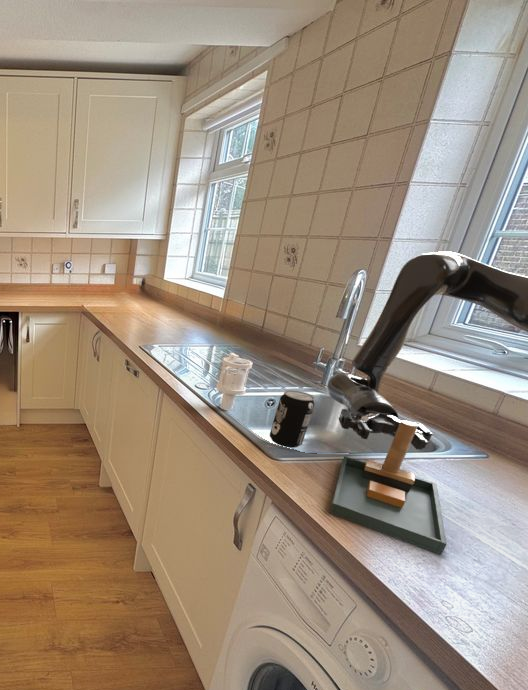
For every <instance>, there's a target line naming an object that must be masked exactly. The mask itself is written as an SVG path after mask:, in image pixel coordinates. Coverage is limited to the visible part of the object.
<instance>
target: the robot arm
mask: <svg viewBox="0 0 528 690" xmlns="http://www.w3.org/2000/svg"><path fill="white" fill-rule="evenodd" d="M434 296H446V297H450V298H453V299H458V300H462V301H465V302H468V303H472V304H475V305H477V306H480V307H482V308H484V309H486V310H487V311H490V312H491V313H493V314H494V315H496V316H497V317H498V318H500V319H502V320H503V321H505V322H506V323H508V324H509V325H511V326H513V327H515V328H516V329H518V330H521V331H523V332H526V333H528V276H525V275H521V274H516V273H513V272H508V271H505V270H501V269H500V268H497V267H493V266H491V265H488V264H487V263H483V262H480V261H478V260H475V259H472V258H471V257H468V256H466V255H463V254H460V253H457V252H452V251H438V252H437V251H436V252H428V253H422V254H419V255H416V256H414V257H412V258H411V259H409V260H408V261H407V262H405V264H404V265H402V267H401V268H400V271H399V273H398V275H397V277H396V279H395V281H394V284H393V285H392V288H391V291H390V293H389V296H388V298H387V300H386V302H385V305H384V306H383V309H382V311H381V313H380V314H379V317H378V319H377V320H376V323H375V324H374V326H373V328H372V329H371V331H370V333H369V335H368V336H367V337H366V339H365V340H364V342H363V344H362V345H361V347H360V348H359V350H358V351H357V352H356V353H355V356H354V357H353V358H352V361H351V364H352V367H353V368H354V369H356V370H357V371H358V372H360V373H363V375H366V376H367V377H362V376H358V375H355V374H350V373H347V372H339V373H336V374H333V376H331V377H330V378H329V380H328V381H327V385H326V390H327V394H328V395H329V397H330V398H332V399H333V400H334V401H336V402H337V403H339V404H340V405H343V406H344V407H345V408H342V409H341V410H340V413H339V416H338V422H339V424H340V426H341V428H342V429H344V430H349V429H352V431H353V432H355V433H356V435H358V436H359V437H360V438H361V439H363V440H368V438H369V435H370V434H383V435H389V436H391V437H393V438H394V437H395V434H396V432H397V430H398V427H399V425H400V422H401V421H403V420H402V419H400V417H399V414H398V412H397V410H396V408H394V407H393V405H392V404H391V403H390V402H389V401H388V400H387V399H386V398H385V397H384V396H383V395H380V394H379V393H380V389H381V386H382V382H383V380H384V376H385V374H386V372H387V370H388V368H389V367H390V366H391V365H392V363H393V362H394V361H395V359H396V358H397V356H398V355H399V353H400V352H401V350H402V349H403V347H404V344H405V342H406V340H407V337H408V333H409V331H410V327H411V325H412V323H413V321H414V320H415V318H416V316H417V315H418V314H419V312H420V311H421V309H422V308H424V306H425V305H426V304H427V303H428V302H429V301H430V300H431V299H433V297H434ZM413 423H416V424H417V425H418V427H417V430H416V432H415V434H414V436H413V439H412V441H411V443H410V445H411V446H413V448H414V449H416V450H419V451H422V450H423V449H425V448H426V446H427V445H429V443H430V440H431V438H432V436H433V434H434V433H433V432H432V431H431V430H430V429H429V428H428V427H426V426H425V425H424V424H423V423H421V422H420V421H414V422H413Z"/></svg>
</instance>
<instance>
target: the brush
mask: <svg viewBox="0 0 528 690" xmlns="http://www.w3.org/2000/svg"><path fill="white" fill-rule="evenodd" d="M417 427H418V425H417V424H416V423H414V422H413V421H410V420H402V421H401V422H400V425H399V427H398V430H397V432H396V434H395V437H393V439H392V442H391V444H390V446H389V449H388V451H387V454H386V456H385V459H384V461H383V463H380V462H377V461H373V460H370V459H366V460H365V462H366V463H365V467H364V470H363V474H362V478H365V479H368V480H371V481H375V482H378V483H381V484H384V485H387V486H390V487H394V488H397V489H400V490H403V491H406V492H409V490H410V488H411V486H412V485H413V484H414V482H415V477H416V475H415V473H414V472H411V471H408V470H405V469H401V467H402V464H403V462H404V459H405V457H406V455H407V452H408V450H409V448H410V446H411V441H412V439H413V436H414V434H415V432H416V430H417Z"/></svg>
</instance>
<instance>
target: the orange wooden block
mask: <svg viewBox="0 0 528 690" xmlns="http://www.w3.org/2000/svg"><path fill="white" fill-rule="evenodd" d="M366 496H368V497H371V498H373V499H376V500H379V501H382V502H385V503H388V504H391V505H394V506H397V507H400V508H402V507H403V505H404V503H405V492H404V491H401V490H398V489H395V488H392V487H389V486H386V485H382V484H379V483H376V482H373V481H370V482H369V484H368V487H367V495H366Z"/></svg>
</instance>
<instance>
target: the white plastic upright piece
mask: <svg viewBox="0 0 528 690" xmlns="http://www.w3.org/2000/svg"><path fill="white" fill-rule="evenodd" d="M221 364H222V367H221V371H220V374H219V375H220V376H219V380H218V381H217V383H216V389H217V390H218V391H220V392H222V397H221V401H220V406H219V408H220V409H221V410H224V411H229V412H231V411H232V410H233V407H234V404H235V401H236V397H237V396H242V395H245V394H246V390H247V388H246V385H247V381H248V377H249V373H250V370H251V369H252V368H253V364H254V362H253V361H252V360H249V359H246V358H241V357H240V356H239V355H238V354H236V353H234V352H229V354H228V356H225V357H223V358H222V362H221ZM243 370H244V371H243Z"/></svg>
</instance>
